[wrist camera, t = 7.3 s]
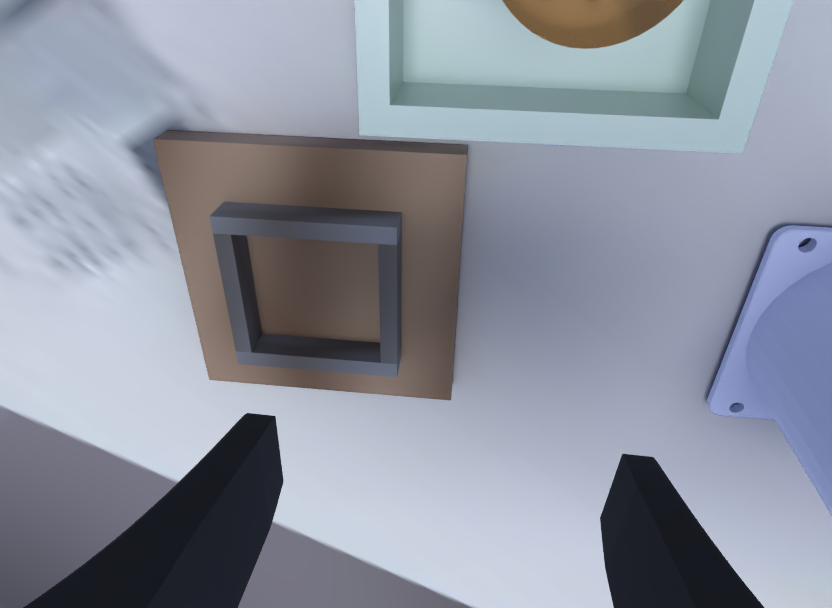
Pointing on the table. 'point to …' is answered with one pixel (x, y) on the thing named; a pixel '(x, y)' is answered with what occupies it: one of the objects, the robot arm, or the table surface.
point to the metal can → (590, 19)
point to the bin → (564, 76)
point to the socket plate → (320, 258)
